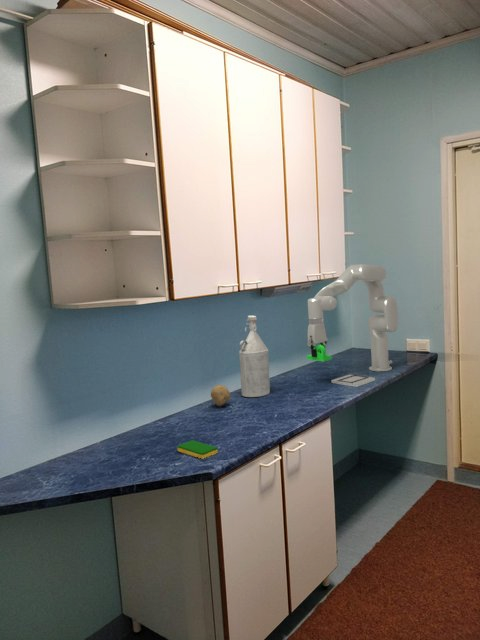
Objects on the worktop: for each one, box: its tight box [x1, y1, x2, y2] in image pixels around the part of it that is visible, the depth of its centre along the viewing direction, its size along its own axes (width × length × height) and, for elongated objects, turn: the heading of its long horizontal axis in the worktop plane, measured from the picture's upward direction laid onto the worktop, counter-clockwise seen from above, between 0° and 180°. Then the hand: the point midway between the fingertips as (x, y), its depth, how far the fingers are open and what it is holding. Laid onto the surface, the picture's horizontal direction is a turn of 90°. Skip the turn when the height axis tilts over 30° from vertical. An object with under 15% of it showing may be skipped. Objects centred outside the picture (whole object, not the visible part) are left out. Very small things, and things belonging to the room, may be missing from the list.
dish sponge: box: [177, 439, 218, 460], centre depth 179 cm, size 7×14×2 cm, turn 45°
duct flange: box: [331, 374, 376, 388], centre depth 267 cm, size 16×16×2 cm
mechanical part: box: [306, 344, 333, 362], centre depth 266 cm, size 12×6×8 cm, turn 37°
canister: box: [238, 315, 271, 398], centre depth 253 cm, size 13×17×40 cm
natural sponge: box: [210, 384, 231, 407], centre depth 237 cm, size 9×9×10 cm
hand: (318, 355), depth 266 cm, fingers closed on mechanical part, 6 cm apart
